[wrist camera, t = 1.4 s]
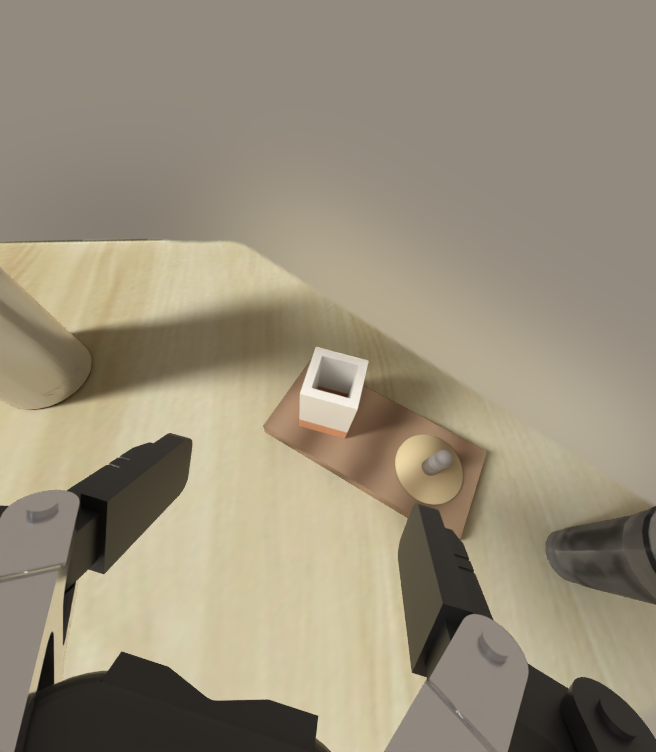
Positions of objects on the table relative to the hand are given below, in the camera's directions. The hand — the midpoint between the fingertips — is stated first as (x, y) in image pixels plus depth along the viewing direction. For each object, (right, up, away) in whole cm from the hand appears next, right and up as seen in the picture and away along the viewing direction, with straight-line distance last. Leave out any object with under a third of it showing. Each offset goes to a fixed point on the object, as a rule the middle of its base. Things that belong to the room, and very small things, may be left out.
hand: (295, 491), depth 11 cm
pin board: (+6, -4, +24) cm, 25 cm away
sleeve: (+1, 0, +23) cm, 23 cm away
